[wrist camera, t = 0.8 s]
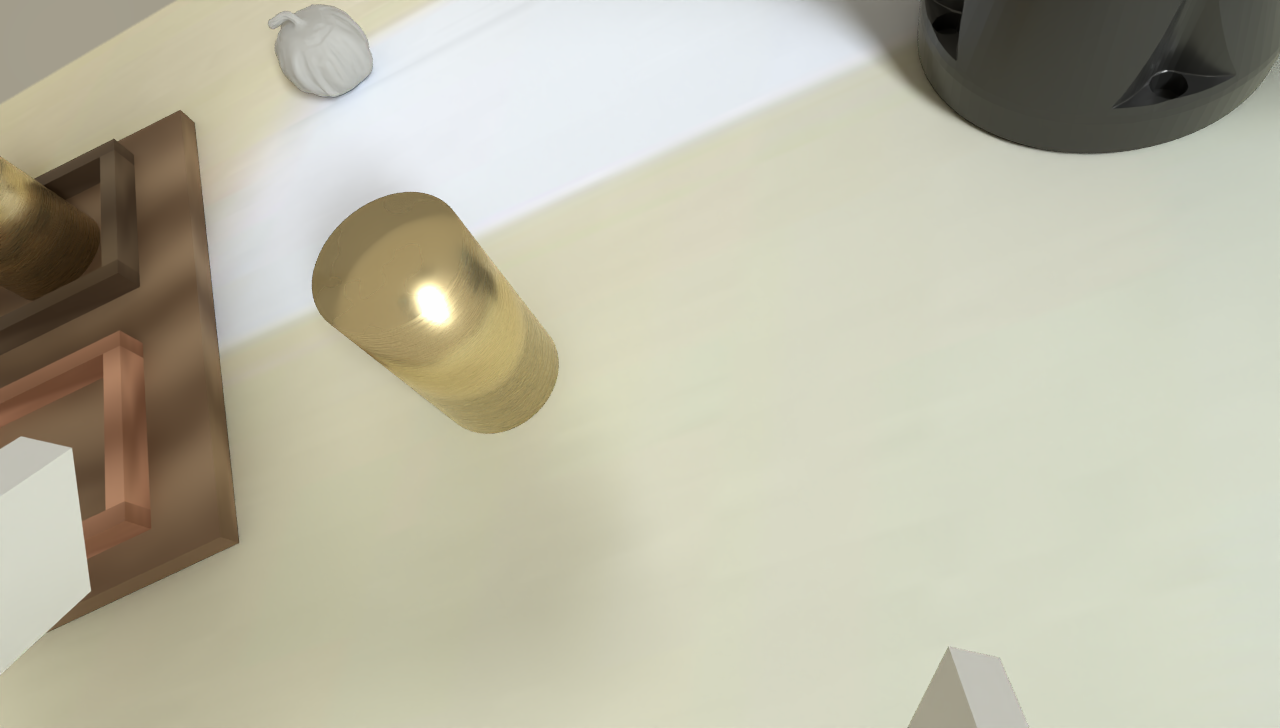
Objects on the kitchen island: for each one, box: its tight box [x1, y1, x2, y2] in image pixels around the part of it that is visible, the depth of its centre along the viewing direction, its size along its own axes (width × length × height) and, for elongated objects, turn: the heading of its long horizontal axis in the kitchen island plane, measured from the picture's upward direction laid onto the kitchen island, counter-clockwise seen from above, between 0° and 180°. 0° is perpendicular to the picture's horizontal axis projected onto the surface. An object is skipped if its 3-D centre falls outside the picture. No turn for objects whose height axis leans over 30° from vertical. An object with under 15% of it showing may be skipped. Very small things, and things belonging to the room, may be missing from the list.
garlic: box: [268, 5, 373, 97], centre depth 47 cm, size 6×5×5 cm
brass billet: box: [312, 192, 559, 434], centre depth 33 cm, size 6×6×10 cm
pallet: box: [0, 110, 239, 633], centre depth 43 cm, size 30×18×3 cm, turn 21°
